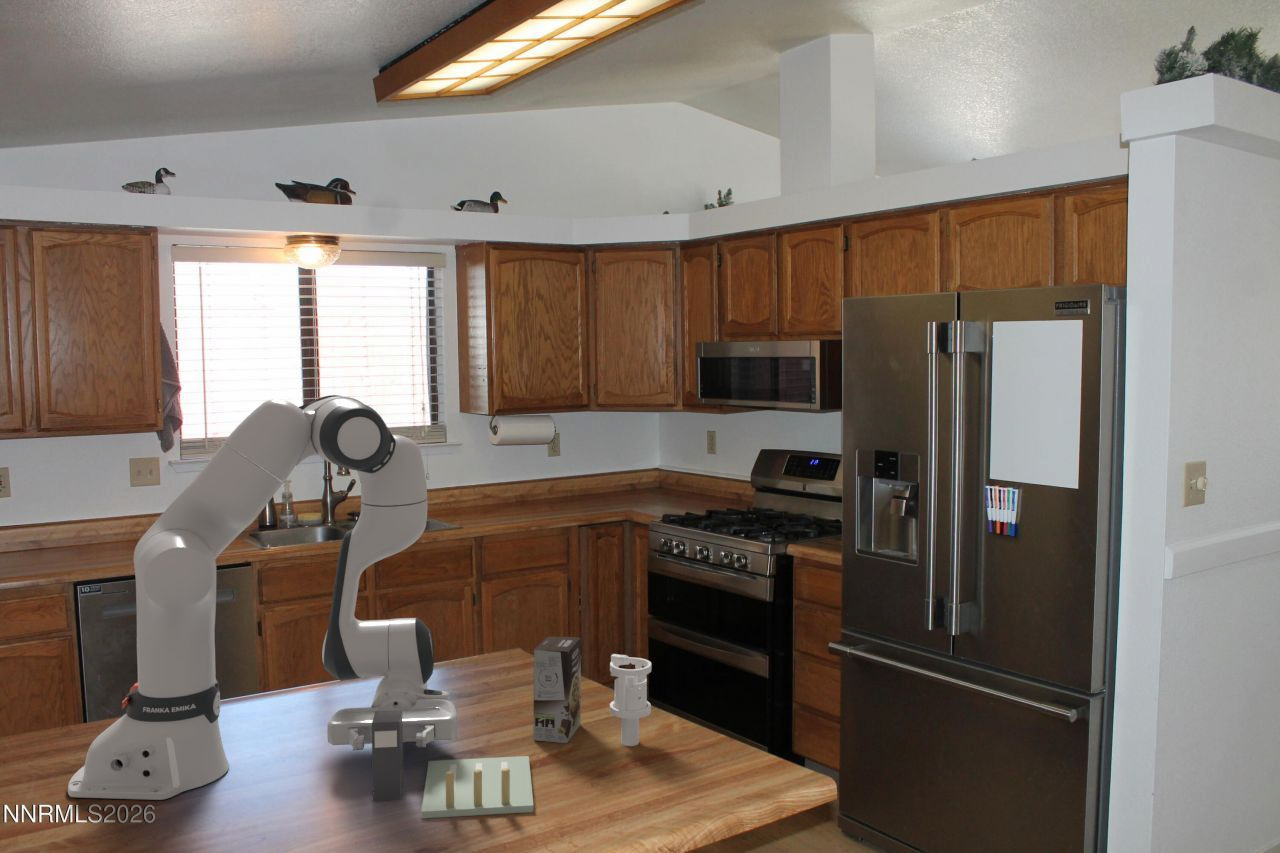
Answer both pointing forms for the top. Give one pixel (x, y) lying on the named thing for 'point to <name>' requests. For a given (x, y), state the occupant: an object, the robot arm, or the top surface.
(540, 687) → the coffee box
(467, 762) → the pinboard
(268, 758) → the top surface
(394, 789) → the block
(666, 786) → the top surface
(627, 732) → the white plastic cylinder
